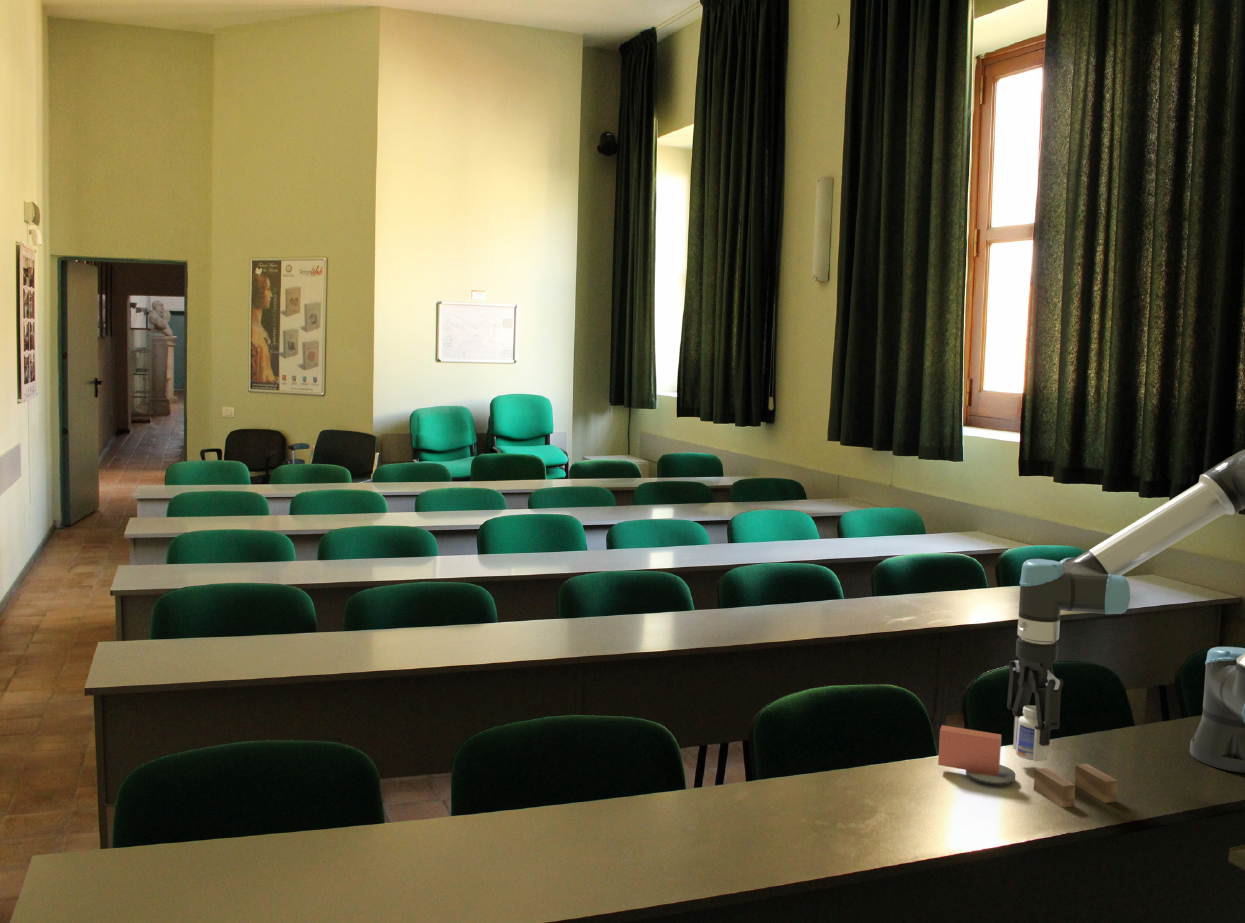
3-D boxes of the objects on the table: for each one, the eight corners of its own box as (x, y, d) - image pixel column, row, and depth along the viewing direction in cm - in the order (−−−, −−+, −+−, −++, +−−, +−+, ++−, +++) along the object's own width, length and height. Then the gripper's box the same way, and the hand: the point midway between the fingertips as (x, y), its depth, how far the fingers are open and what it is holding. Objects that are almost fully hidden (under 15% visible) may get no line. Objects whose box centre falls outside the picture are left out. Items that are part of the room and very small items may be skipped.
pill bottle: (1048, 762, 200) (1054, 713, 199) (1020, 760, 200) (1026, 712, 199) (1038, 751, 206) (1043, 704, 205) (1010, 749, 206) (1015, 702, 205)
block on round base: (942, 758, 205) (944, 720, 205) (1016, 771, 200) (1019, 732, 199) (935, 774, 197) (937, 734, 196) (1013, 788, 191) (1015, 747, 191)
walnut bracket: (1085, 784, 196) (1087, 763, 196) (1115, 801, 188) (1117, 780, 188) (1033, 789, 193) (1034, 768, 193) (1062, 807, 185) (1063, 786, 185)
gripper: (992, 627, 209) (985, 738, 211) (1052, 653, 191) (1043, 774, 193) (1024, 626, 210) (1017, 736, 213) (1086, 651, 193) (1078, 770, 195)
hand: (1029, 753), depth 203 cm, fingers closed on pill bottle, 5 cm apart
